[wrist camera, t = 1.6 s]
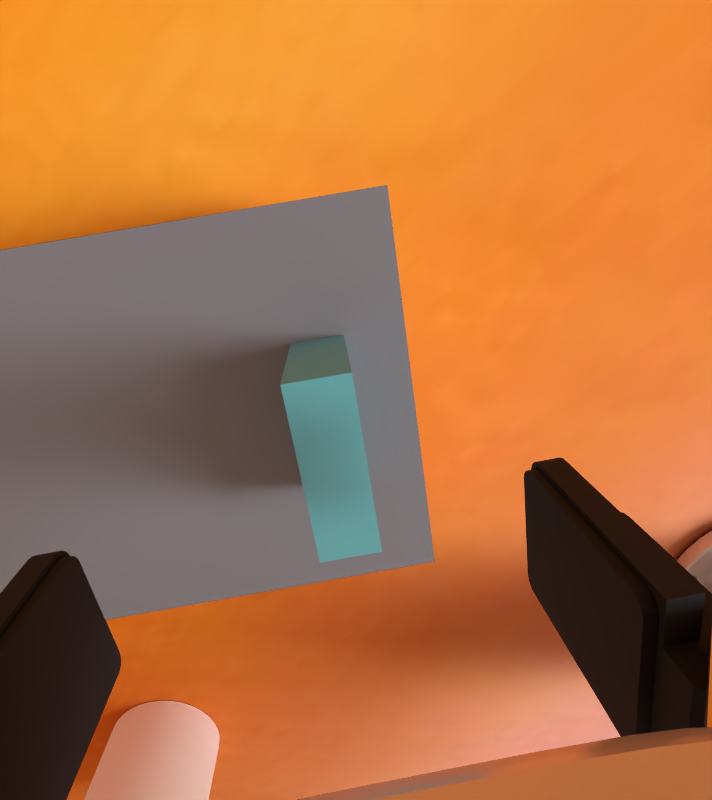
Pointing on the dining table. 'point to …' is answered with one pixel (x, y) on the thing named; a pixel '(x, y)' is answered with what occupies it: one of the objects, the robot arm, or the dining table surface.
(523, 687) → the dining table surface
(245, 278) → the lid
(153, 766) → the cylindrical container
